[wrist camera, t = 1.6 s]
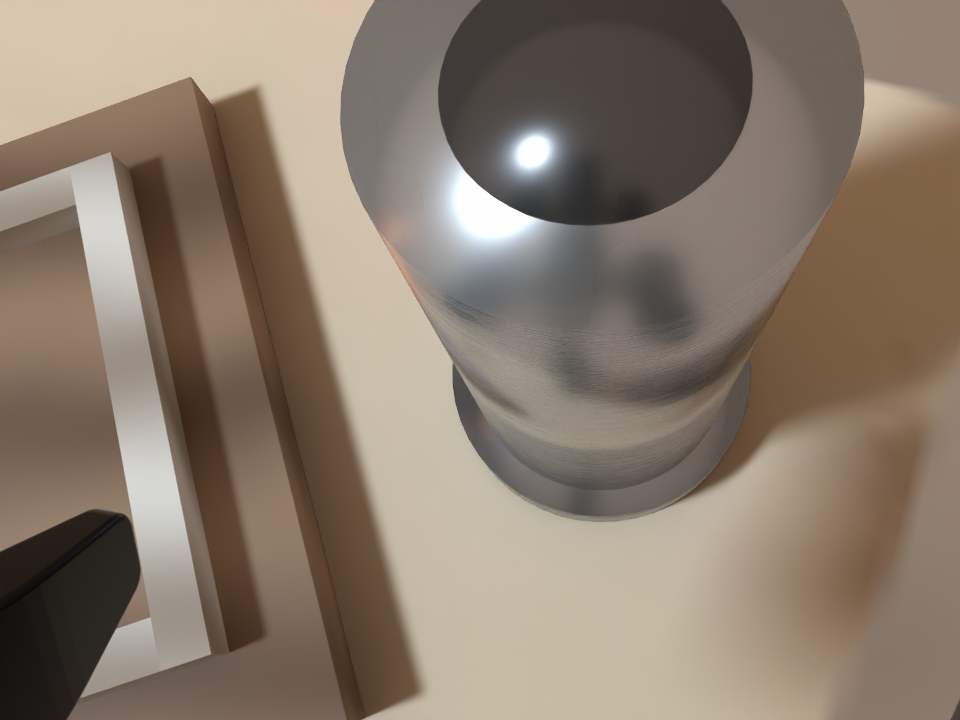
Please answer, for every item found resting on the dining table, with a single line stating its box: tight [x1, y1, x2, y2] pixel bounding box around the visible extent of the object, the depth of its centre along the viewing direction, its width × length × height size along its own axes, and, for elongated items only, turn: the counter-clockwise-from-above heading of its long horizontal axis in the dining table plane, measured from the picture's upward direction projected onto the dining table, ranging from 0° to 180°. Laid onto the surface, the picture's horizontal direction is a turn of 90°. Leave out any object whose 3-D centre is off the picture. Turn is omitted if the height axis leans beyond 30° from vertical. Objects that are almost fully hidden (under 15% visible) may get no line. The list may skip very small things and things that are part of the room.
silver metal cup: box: [340, 0, 864, 522], centre depth 16 cm, size 7×7×13 cm
